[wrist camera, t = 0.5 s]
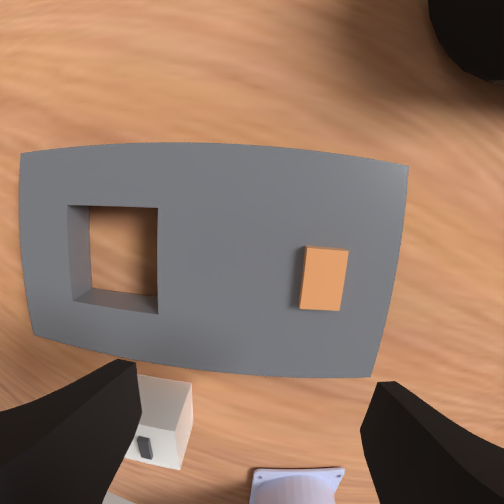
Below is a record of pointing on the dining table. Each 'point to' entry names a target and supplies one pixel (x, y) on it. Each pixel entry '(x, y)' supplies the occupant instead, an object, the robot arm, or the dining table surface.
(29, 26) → the dining table surface
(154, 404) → the block
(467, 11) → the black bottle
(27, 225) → the grey square-hole board
